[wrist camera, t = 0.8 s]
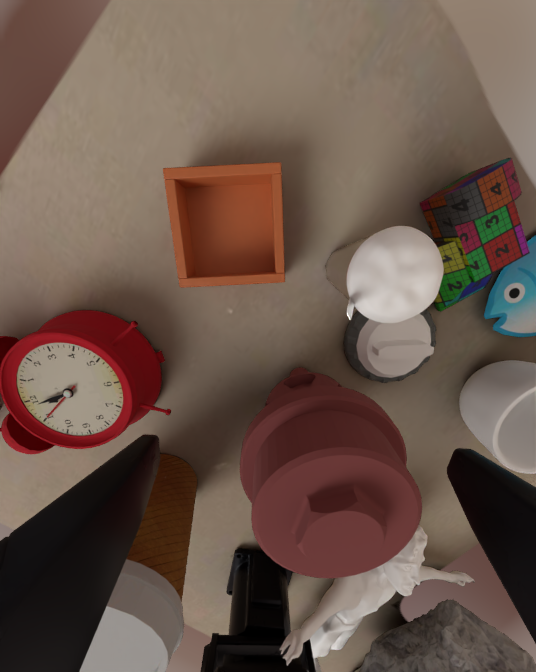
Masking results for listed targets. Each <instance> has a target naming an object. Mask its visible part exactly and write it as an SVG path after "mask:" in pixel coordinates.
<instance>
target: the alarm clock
mask: <svg viewBox="0 0 536 672" xmlns="http://www.w3.org/2000/svg"><path fill="white" fill-rule="evenodd" d="M137 326H138V323H137V322H136V321H132V322H131V325H130V324H129V323H127V322H125V321H124V320H122V319H120V318H118V317H116V316H113V315H111V314H107V313H104V312H99V311H92V310H80V311H72V312H68V313H65V314H62V315H59V316H57V317H55V318H53V319H51V320H49V321H48V322H47V323H45V324H44V325H43V326H42V327H41V328H40V329H39V330H38V331H37V332H34V333H31V334H29V335H27V336H25V337H24V338H22V339H21V340H19V339H18V338H15V337H8V336H0V393H1V396H2V399H3V401H4V403H5V405H6V407H7V409H8V410H9V412H10V413H9V414H8V415H7V416H6V417H5V419H4V421H3V422H2V426H1V428H0V431H2V435H3V438H4V440H5V441H6V443H7V444H8V445H9V446H10V447H11V448H13V449H14V450H16V451H18V452H22V453H25V454H38V453H41V452H44V451H46V450H48V449H50V448H52V447H53V446H54V445H57V446H60V447H66V448H73V449H85V448H92V447H96V446H100V445H102V444H105V443H107V442H109V441H111V440H112V439H114V438H116V437H117V436H119V435H120V434H121V433H122V432H123V431H125V430H126V428H127V427H128V426H129V425H131V424H133V423H135V422H137V421H138V420H140V419H141V418H142V417H144V416H145V415H146V414H147V413H148V412H149V410H156V411H160V412H164V413H166V415H170V413H171V410H170V409H167V410H164V409H161V408H157V407H155V406H153V405H154V403H155V402H156V400H157V398H158V396H159V392H160V389H161V381H162V377H161V368H160V364H159V363H162V362H164V361H165V359H164V357H163V354H162V351H160V352H156V353H155V351H154V350H153V348H152V346H151V345H150V343H149V342H148V341H147V339H146V338H145V337H144V336H143V335H142V334H141V333H140V332H139V331H138V330H137V329H135V328H134V327H137Z"/></svg>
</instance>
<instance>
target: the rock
mask: <svg viewBox="0 0 536 672" xmlns="http://www.w3.org/2000/svg"><path fill="white" fill-rule="evenodd" d="M359 672H536V664H535V662H534V660H533V657H532V656H530V655H529V653H528V652H527V651H525V650H523V649H522V648H520V647H519V646H518V645H517V644H516V643H515V642H514V641H512V640H511V639H510V638H509V637H507V636H506V635H505V634H502V633H501V632H500V631H498V630H497V629H496V628H495V627H493V626H490V625H488V623H486V622H484V621H482V620H481V619H479V618H478V617H477V616H476V615H474V614H473V613H472V612H471V611H469V610H467V609H466V608H464V607H463V606H461V605H460V604H459V603H457V602H456V601H454V600H446V601H442V602H441V603H438V605H437V606H436V608H435V609H434V610H430V611H429V612H428V613H427V614H426V615H422V616H421V617H418V618H415V619H414V620H413V621H411V622H408V623H406V624H404V625H402V626H399V627H397V628H395V629H392V630H389V631H387V632H385V633H384V634H382V635H381V636H379V637H378V638H377V639H376V640H375V641H373V642H372V644H371V651H370V652H369V653H367V654H366V656H365V659H364V663H363V664H362V666H361V668H360V671H359Z"/></svg>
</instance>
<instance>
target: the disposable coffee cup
mask: <svg viewBox="0 0 536 672" xmlns="http://www.w3.org/2000/svg"><path fill="white" fill-rule="evenodd" d="M196 489H197V477H196V474H195V472H194V471H193V469H192V468H191V467H190V465H189V464H188V463H186V462H185V461H183V460H182V459H180V458H178V457H175V456H172V455H167V454H160V464H159V468H158V471H157V474H156V478H155V481H154V484H153V487H152V491H151V494H150V497H149V501H148V504H147V507H146V510H145V513H144V516H143V519H142V522H141V525H140V527H139V530H138V532H137V534H136V537H135V539H134V542H133V544H132V546H131V549H130V551H129V554H128V556H127V558H126V561H125V563H124V566H123V568H122V570H121V573H120V575H119V578H118V580H117V583H116V585H115V587H114V590H113V592H112V595H111V597H110V599H109V602H108V604H107V607H106V609H105V611H104V614H103V616H102V619H101V621H100V623H99V626H98V628H97V631H96V633H95V635H94V638H93V640H92V643H91V645H90V647H89V650H88V652H87V655H86V657H85V659H84V662H83V664H82V667H81V669H80V671H79V672H165V671H166V669H167V666H168V664H169V661H170V659H171V656H172V654H173V653H174V652H175V651H176V649H177V648H178V646H179V645H180V642H181V640H182V637H183V630H184V620H183V613H182V612H183V607H182V603H181V602H182V595H183V585H184V580H185V573H186V565H187V556H188V549H189V548H188V547H189V542H190V540H189V539H190V534H191V527H192V525H191V524H192V519H193V518H192V517H193V511H194V504H195V497H196Z"/></svg>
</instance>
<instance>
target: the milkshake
mask: <svg viewBox="0 0 536 672" xmlns="http://www.w3.org/2000/svg"><path fill="white" fill-rule="evenodd" d="M325 268H326V276H327V280H328V281H329V282H330V283H331V284H332V285H333V286H334V287H335V288H336V289H337V290H338V291H339V292H341V293H342V294H343V295H344V296H345V297H346V298H347V299H348V300H349V303H348V307H347V311H346V313H347V316H348V318H349V320H350V321H351V319H352V314H353V309H354V307H355V308H356V309H357V310H358V311H359V312H360V313H361V314H362V315H364V316H365V317H367V318H369V319H371V320H373V321H377V322H381V323H397V322H401V321H404V320H407V319H409V318H411V317H414V316H416V315H418V314H419V313H421V312H422V311H424V310H425V309H426V308H427V307H428V306H429V305H430V304H431V303H432V302H433V301H434V300H435V298H436V296H437V294H438V291H439V288H440V284H441V281H442V277H443V272H444V267H443V262H442V258H441V255H440V252H439V250H438V248H437V246H436V244H435V243H434V242H433V240H432V239H431V238H430V237H428V236H427V235H426V234H424V233H423V232H421V231H419V230H417V229H415V228H412V227H408V226H394V227H390V228H386V229H384V230H381V231H379V232H377V233H375V234H373V235H371V236H368V237H366V238H364V239H362V240H359V241H357V242H354V243H351V244H348V245H345V246H343V247H342V248H340V249H338V250H336V251H334V252H333V253H331V255H330V257H329V259H328V261H327V263H326V265H325Z"/></svg>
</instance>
